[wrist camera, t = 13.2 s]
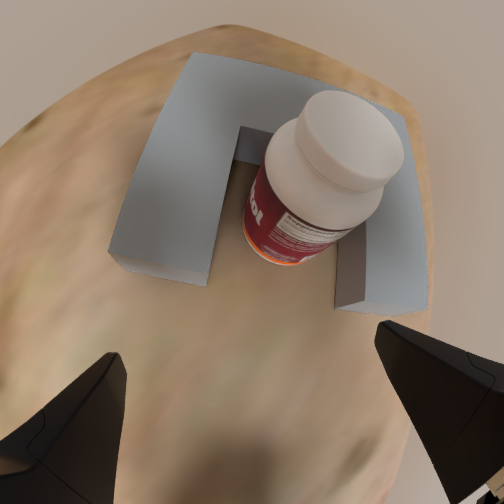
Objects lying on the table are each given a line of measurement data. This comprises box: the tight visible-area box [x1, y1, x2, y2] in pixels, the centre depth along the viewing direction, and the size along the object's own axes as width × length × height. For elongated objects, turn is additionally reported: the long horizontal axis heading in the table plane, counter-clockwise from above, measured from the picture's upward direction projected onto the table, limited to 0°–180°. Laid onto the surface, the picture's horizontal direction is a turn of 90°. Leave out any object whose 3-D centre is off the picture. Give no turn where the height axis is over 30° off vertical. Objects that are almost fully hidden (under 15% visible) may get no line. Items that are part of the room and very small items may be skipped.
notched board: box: [108, 52, 428, 316], centre depth 20 cm, size 18×20×4 cm
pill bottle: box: [242, 90, 404, 265], centre depth 15 cm, size 6×6×11 cm
